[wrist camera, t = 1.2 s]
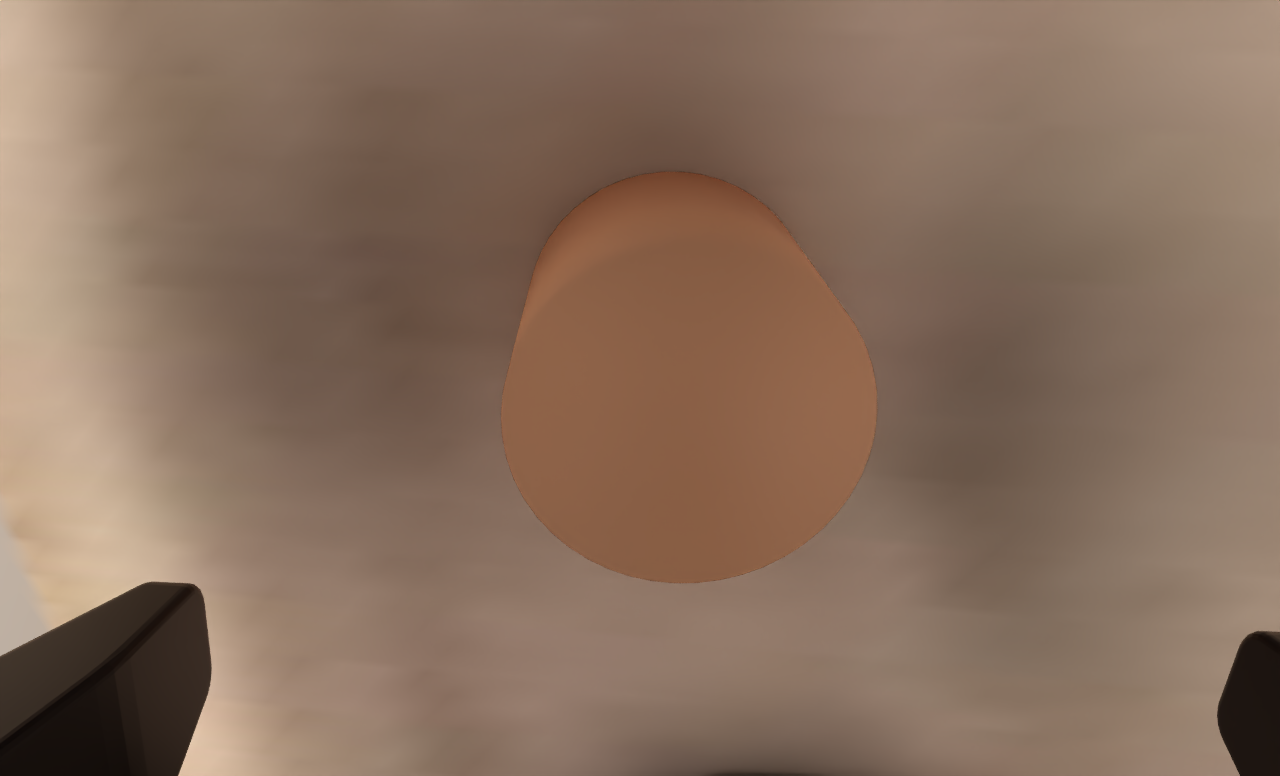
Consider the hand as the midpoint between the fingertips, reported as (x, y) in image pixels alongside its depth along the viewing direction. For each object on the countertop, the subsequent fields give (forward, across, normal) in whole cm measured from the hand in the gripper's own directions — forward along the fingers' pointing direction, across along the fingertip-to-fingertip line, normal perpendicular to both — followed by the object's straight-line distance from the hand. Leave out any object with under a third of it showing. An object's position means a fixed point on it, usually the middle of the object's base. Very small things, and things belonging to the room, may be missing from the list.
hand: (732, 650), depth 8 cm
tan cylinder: (+9, 0, 0) cm, 9 cm away
